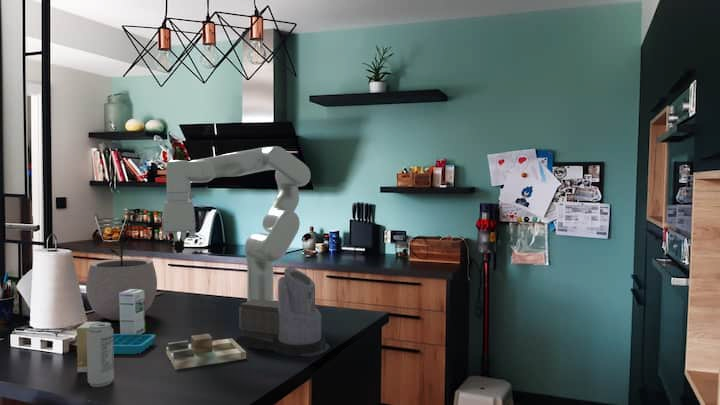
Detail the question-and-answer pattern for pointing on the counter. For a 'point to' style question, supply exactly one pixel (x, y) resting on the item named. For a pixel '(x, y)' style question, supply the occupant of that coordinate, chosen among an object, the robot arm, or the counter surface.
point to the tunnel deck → (186, 358)
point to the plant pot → (119, 283)
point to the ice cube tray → (131, 343)
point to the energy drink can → (100, 354)
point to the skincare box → (82, 346)
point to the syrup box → (132, 311)
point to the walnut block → (201, 343)
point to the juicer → (284, 319)
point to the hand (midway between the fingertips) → (179, 252)
